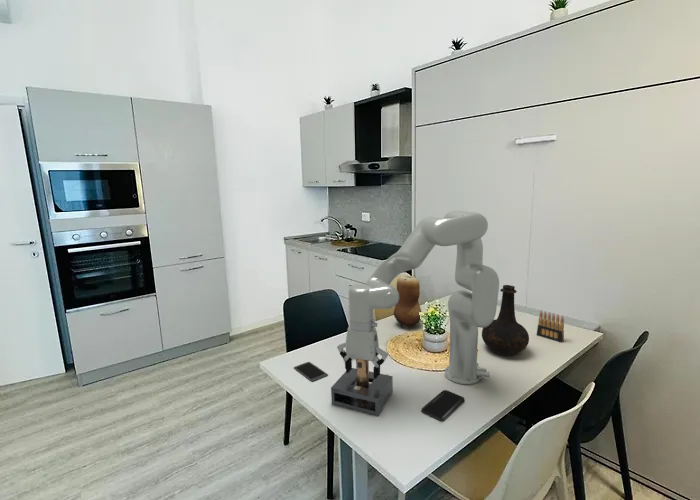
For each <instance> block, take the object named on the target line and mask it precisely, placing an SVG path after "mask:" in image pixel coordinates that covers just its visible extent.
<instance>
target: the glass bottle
mask: <svg viewBox="0 0 700 500" xmlns="http://www.w3.org/2000/svg"><path fill="white" fill-rule="evenodd" d="M515 288H516V286H514V285H512V284H511V285H508V284H504V285H502V288H501V289H499V291H500V292H501V293H502V294H501V295H502V296H501V302H500V309H499V313H498V316H497V318H496V319H494V320H493V322H492V323H491V324H490V325H489V326H487V327H484V328H482V330H481V338H482V340H483V343H484V344H485V346H487V348H488V349H489V350H491V351H493V352H494V353H496V354H498V355H502V356H515V355H518V354H520V353H523V351H525V349H526V348H527V347H528V345H529V342H530V337H529V336H530V335H529V333H528V330H527V329H526V328H525V326H524V325H522V324H521V323H518V321H517V317H516V312H515V311H516V310H515V294H516V293H517V290H516V289H515Z"/></svg>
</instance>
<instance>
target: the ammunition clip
mask: <svg viewBox="0 0 700 500" xmlns="http://www.w3.org/2000/svg"><path fill="white" fill-rule="evenodd" d="M564 320H565V318H564V315H563V314H562V315H561V316H559V314H557V315H555V313H552V315H551V312H550V311H549V312H548V314H547V311H546V310H545V311H544V312H543V310H542V309H541V310H540V311H539V316H538V322H537V323H538V324H537V330H536V336H537V337H541V338H543V339H547V340H551V341H554V342H558V343H561V344H562V343H563V342H564V340H565V339H564V336H565V333H564V332H565V330H564V328H565V327H564V326H565V321H564Z"/></svg>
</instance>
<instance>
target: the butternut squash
mask: <svg viewBox="0 0 700 500" xmlns="http://www.w3.org/2000/svg"><path fill="white" fill-rule="evenodd" d="M420 287H421V286H420V280H419V279H418V278H416V277H414V276H412V275H402V276H399V277H398V278H397V281H396V290H397V291H398V293H399V302H398V303H397V305H396V306H394V310H393V316H394V318H395V320H396V321H397V322H398V323H399V324H400V325H402V326H403V327H405V328H408V329H410V328H413V327H416V326H417V325H418V324H419V322H420V321H421V320H422V318H421V319H420V315H419V312H422V308H421V306H420V301H419V299H420V294H421V292H420V290H421V289H420Z"/></svg>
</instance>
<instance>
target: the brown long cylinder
mask: <svg viewBox="0 0 700 500" xmlns="http://www.w3.org/2000/svg"><path fill="white" fill-rule="evenodd" d="M355 362H356V363H355V364H356V366H355V367H356V368H355V369H356V370H357V386H359V387H364V388H368V387H369V383H370V382H369V371H370V365H369V364H370V363H369V362H370V361H368V360H363V359H358V358H356V359H355ZM356 399H359V398H356ZM361 400H363V399H361ZM365 401H367V400H365Z"/></svg>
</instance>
